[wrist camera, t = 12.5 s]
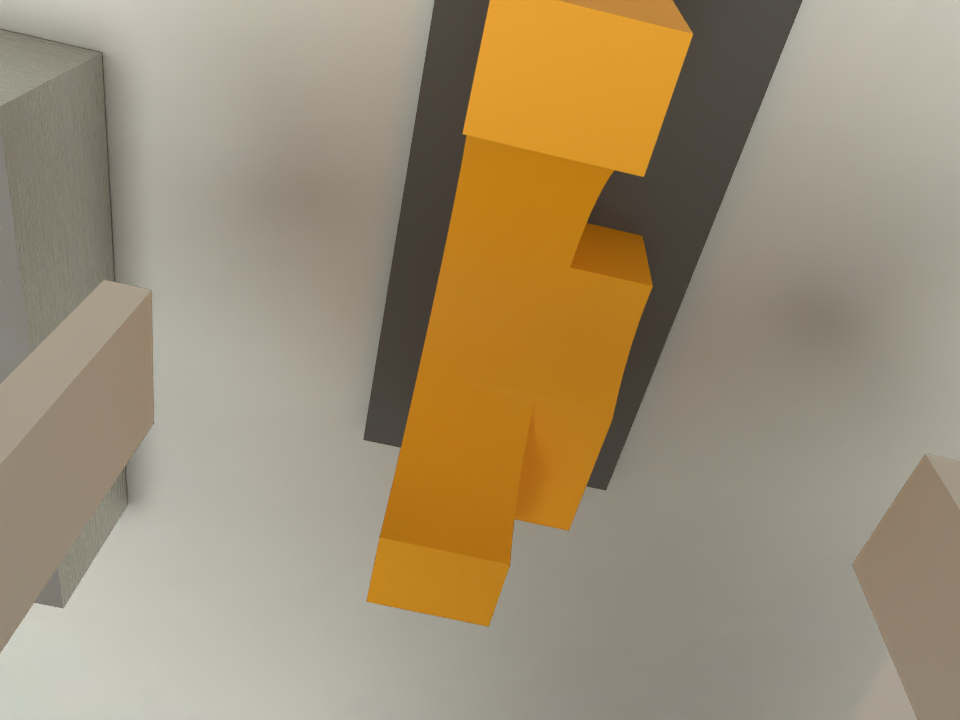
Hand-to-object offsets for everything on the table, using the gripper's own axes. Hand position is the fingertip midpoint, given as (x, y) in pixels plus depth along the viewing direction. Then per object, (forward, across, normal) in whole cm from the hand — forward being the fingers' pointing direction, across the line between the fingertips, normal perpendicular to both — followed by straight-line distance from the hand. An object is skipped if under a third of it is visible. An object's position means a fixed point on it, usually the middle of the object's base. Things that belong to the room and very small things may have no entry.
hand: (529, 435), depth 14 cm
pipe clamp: (+7, 0, -1) cm, 7 cm away
